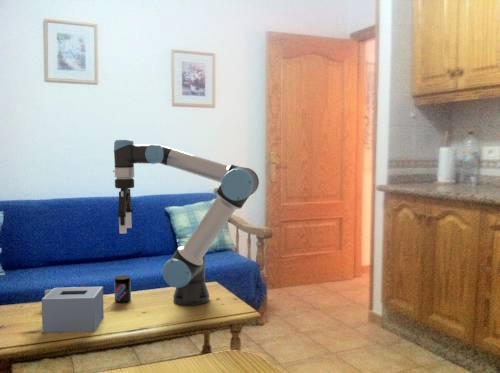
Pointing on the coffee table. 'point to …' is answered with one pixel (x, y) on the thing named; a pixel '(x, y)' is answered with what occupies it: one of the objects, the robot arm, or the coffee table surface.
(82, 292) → the coin box
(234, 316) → the coffee table surface
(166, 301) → the coffee table surface
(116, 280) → the supplement container
